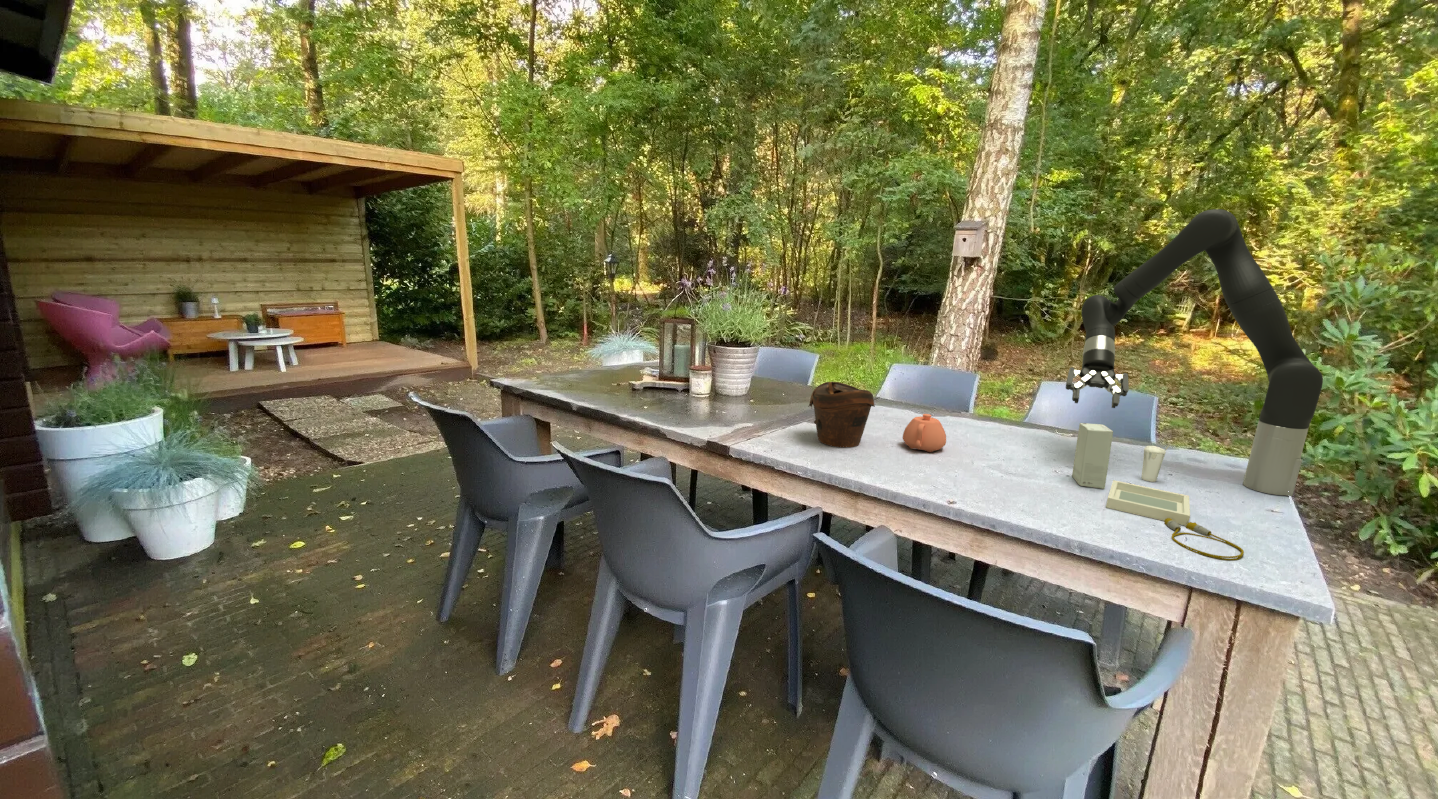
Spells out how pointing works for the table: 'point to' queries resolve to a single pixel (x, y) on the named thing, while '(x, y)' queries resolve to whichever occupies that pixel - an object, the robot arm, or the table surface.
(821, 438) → the case
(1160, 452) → the milkshake
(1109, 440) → the skincare box
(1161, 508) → the shallow cream tray
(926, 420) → the sugar bowl
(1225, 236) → the robot arm
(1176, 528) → the extension cord
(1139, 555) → the table surface
